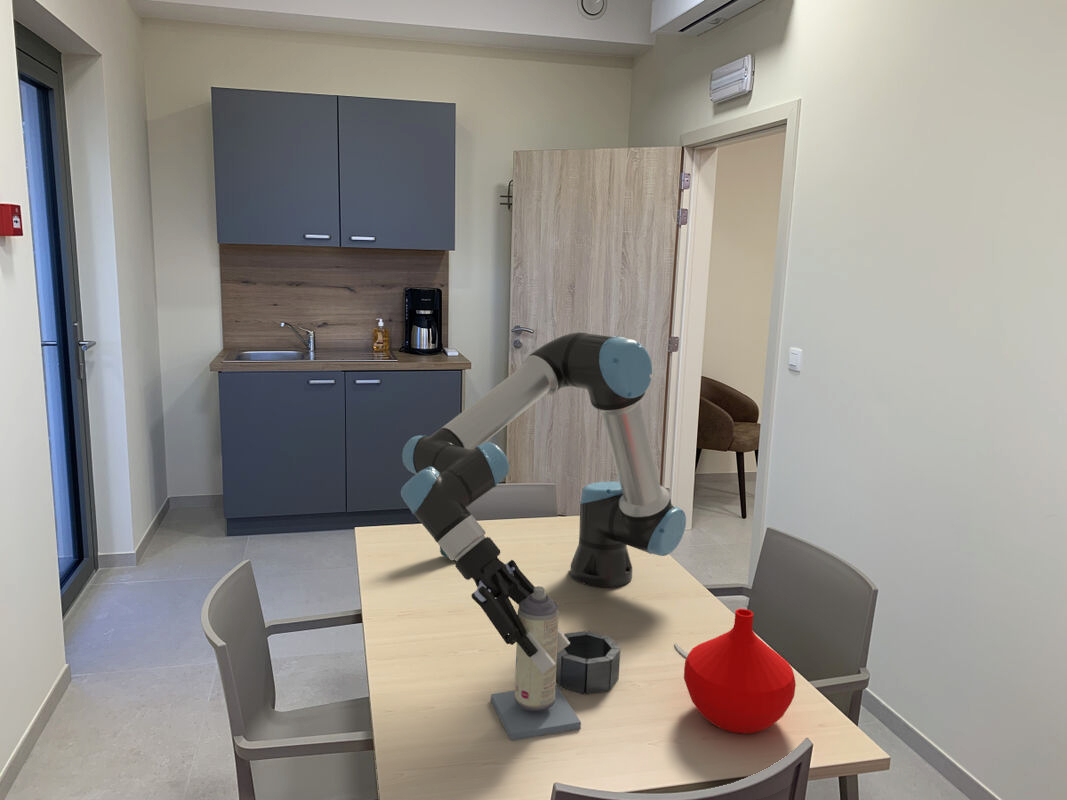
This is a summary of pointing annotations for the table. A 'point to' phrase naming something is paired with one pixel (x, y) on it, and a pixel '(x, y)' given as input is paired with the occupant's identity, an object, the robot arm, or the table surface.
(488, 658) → the table surface
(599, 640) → the ring
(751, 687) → the vase
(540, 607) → the aerosol can
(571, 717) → the rubber mat
